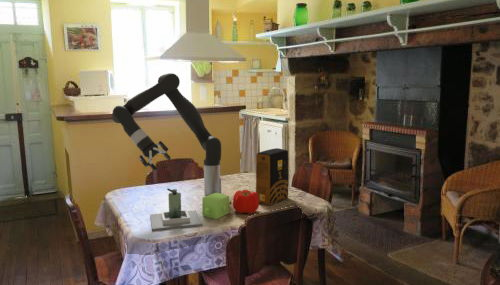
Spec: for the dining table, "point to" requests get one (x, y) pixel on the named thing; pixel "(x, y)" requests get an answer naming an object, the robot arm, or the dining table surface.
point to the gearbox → (215, 205)
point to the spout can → (174, 204)
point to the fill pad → (175, 220)
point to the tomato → (245, 201)
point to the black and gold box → (272, 176)
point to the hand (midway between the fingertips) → (163, 165)
